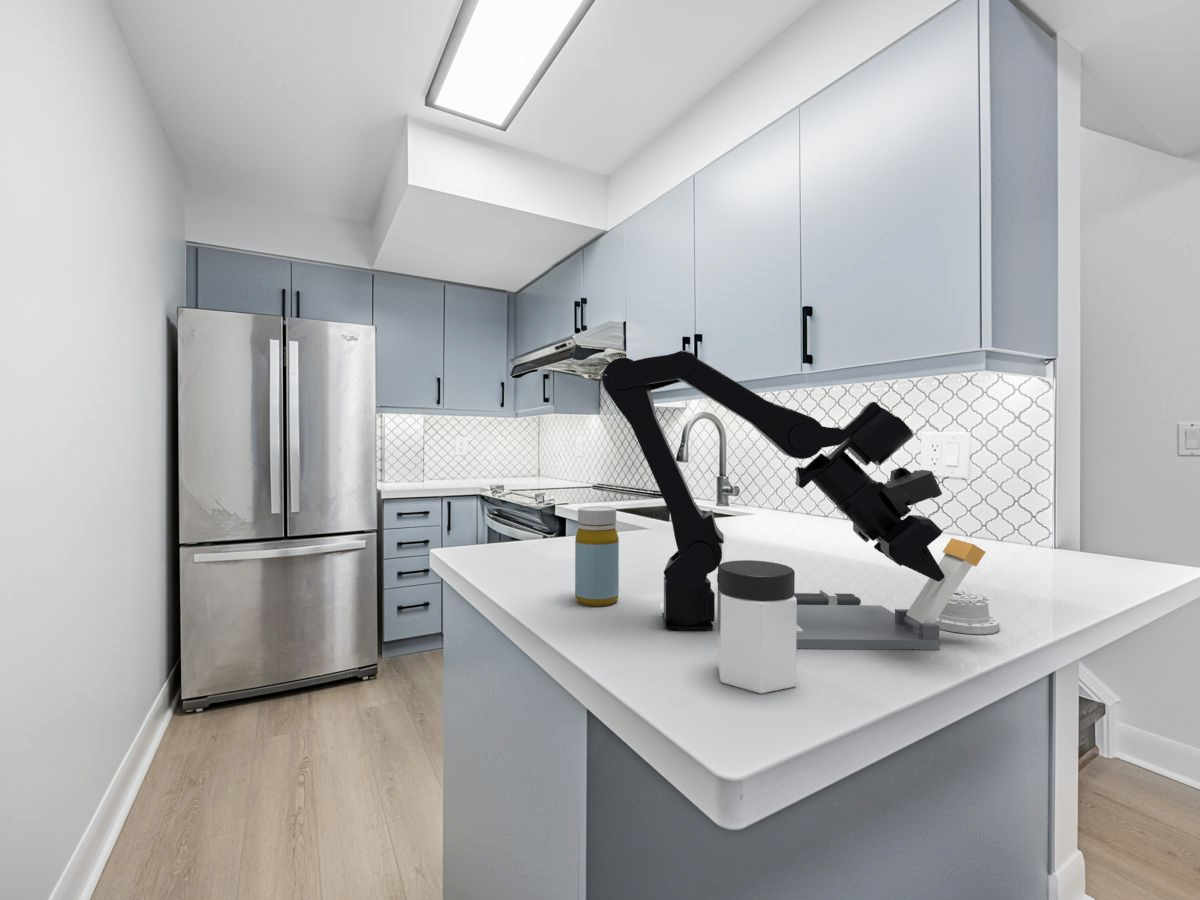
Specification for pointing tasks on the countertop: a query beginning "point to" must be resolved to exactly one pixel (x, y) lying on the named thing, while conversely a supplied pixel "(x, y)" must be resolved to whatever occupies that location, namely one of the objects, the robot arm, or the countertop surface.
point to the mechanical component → (967, 614)
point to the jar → (756, 625)
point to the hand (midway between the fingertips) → (939, 577)
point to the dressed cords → (826, 598)
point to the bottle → (596, 557)
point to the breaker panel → (861, 628)
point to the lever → (943, 582)
